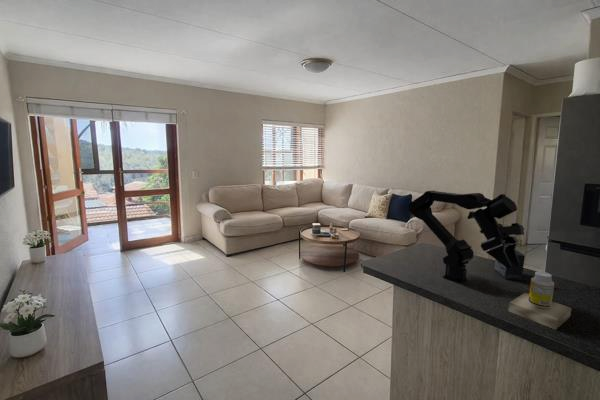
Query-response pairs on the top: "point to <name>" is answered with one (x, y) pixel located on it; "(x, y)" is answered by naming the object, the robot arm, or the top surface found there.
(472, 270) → the top surface
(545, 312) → the birch base block
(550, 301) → the supplement bottle
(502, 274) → the small box
